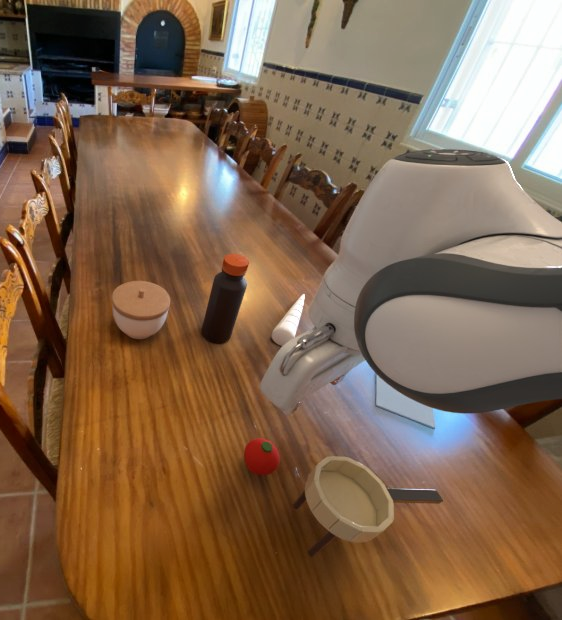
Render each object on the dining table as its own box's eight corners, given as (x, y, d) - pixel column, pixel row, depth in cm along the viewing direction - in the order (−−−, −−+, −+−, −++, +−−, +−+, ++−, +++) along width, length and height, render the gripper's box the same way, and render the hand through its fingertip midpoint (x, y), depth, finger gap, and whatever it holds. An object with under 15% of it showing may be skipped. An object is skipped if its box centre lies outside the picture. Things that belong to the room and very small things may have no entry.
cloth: (429, 391, 73) (430, 390, 73) (434, 429, 66) (435, 428, 66) (375, 372, 77) (376, 370, 76) (375, 406, 70) (376, 404, 69)
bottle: (219, 321, 86) (240, 248, 74) (236, 339, 82) (261, 265, 69) (195, 327, 84) (212, 254, 71) (211, 347, 79) (232, 272, 66)
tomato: (280, 470, 58) (292, 452, 55) (257, 487, 56) (268, 469, 52) (256, 443, 62) (266, 425, 58) (233, 458, 59) (242, 439, 56)
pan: (294, 565, 48) (333, 531, 40) (274, 496, 55) (304, 455, 47) (409, 567, 49) (469, 533, 41) (374, 498, 56) (420, 458, 48)
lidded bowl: (105, 314, 85) (106, 276, 78) (155, 307, 89) (160, 270, 82) (118, 352, 76) (120, 312, 69) (173, 343, 79) (180, 304, 72)
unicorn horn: (317, 301, 95) (324, 286, 92) (288, 351, 80) (295, 335, 77) (299, 294, 97) (306, 279, 94) (268, 341, 82) (274, 325, 79)
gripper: (321, 367, 31) (274, 451, 40) (435, 300, 40) (376, 380, 49) (266, 325, 35) (234, 409, 44) (380, 272, 44) (335, 351, 53)
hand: (309, 393), depth 46 cm, fingers open, 8 cm apart
